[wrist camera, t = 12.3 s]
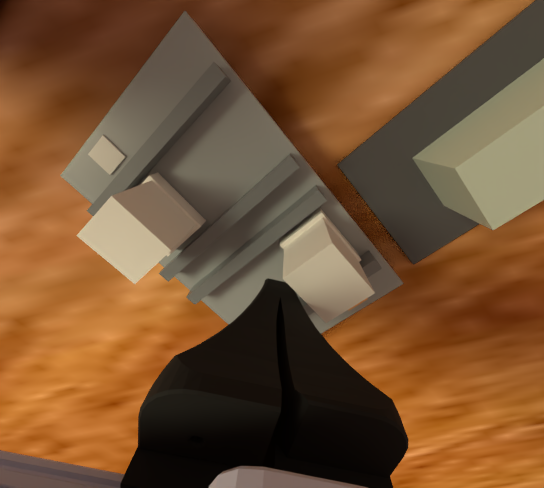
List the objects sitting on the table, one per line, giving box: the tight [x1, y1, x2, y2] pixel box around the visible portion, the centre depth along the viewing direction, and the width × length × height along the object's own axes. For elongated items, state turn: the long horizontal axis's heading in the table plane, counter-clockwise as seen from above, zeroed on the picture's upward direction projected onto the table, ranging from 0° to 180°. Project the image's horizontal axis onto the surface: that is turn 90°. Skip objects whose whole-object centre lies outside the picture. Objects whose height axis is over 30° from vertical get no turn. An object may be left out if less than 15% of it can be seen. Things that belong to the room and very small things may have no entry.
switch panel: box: [60, 11, 404, 334], centre depth 13 cm, size 15×9×2 cm, turn 42°
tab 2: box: [280, 208, 375, 323], centre depth 11 cm, size 3×2×4 cm
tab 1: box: [77, 173, 206, 284], centre depth 11 cm, size 3×2×4 cm
